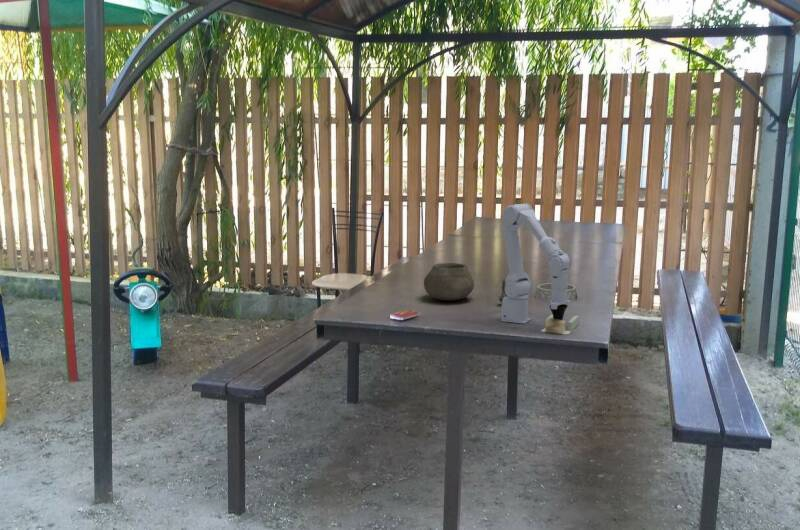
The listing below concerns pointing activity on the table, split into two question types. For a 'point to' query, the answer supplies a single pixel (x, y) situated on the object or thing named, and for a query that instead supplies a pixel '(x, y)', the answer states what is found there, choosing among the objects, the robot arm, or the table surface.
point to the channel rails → (571, 323)
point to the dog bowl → (545, 292)
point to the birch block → (555, 326)
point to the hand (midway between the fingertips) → (557, 324)
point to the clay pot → (449, 281)
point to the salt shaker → (503, 292)
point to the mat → (563, 333)
